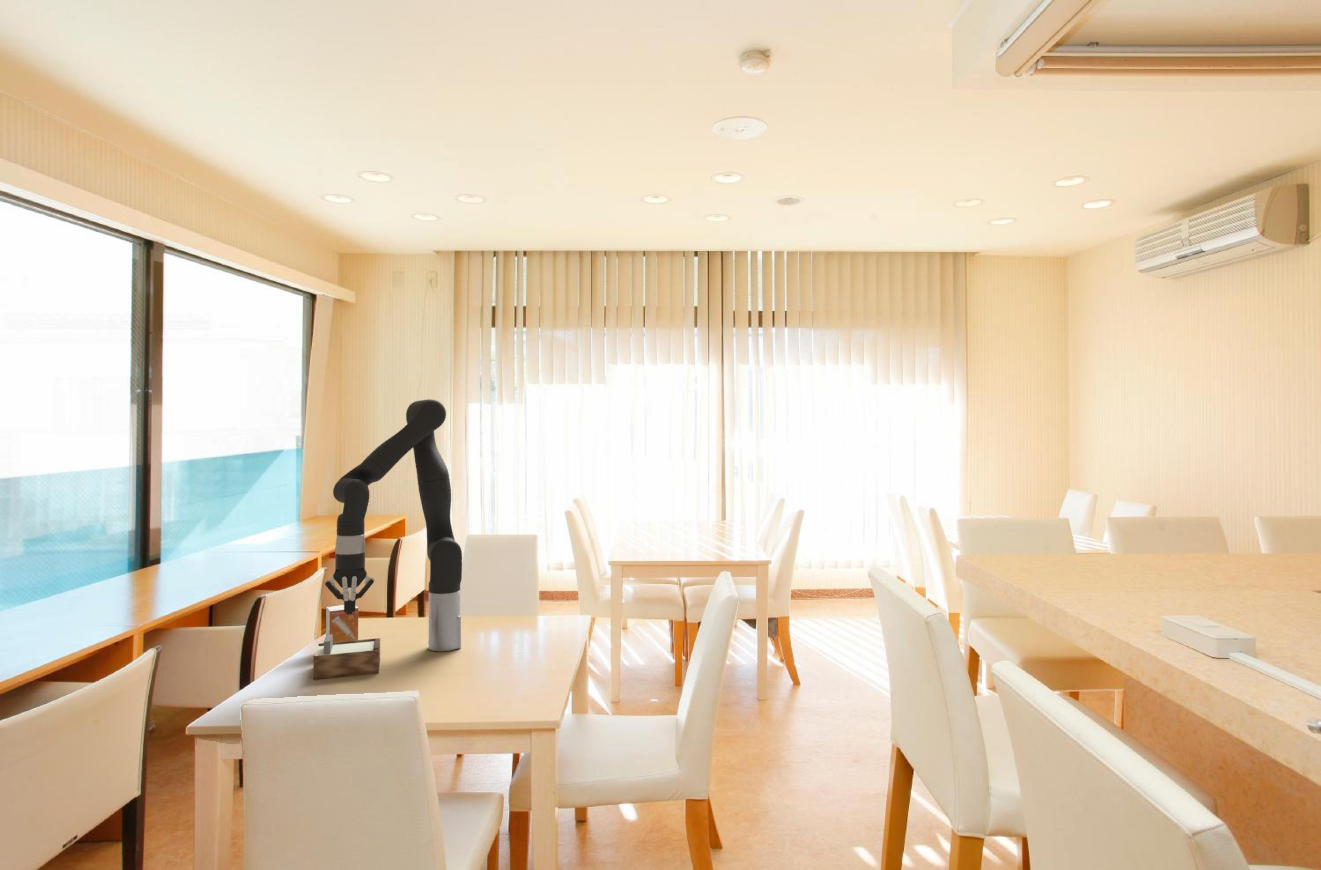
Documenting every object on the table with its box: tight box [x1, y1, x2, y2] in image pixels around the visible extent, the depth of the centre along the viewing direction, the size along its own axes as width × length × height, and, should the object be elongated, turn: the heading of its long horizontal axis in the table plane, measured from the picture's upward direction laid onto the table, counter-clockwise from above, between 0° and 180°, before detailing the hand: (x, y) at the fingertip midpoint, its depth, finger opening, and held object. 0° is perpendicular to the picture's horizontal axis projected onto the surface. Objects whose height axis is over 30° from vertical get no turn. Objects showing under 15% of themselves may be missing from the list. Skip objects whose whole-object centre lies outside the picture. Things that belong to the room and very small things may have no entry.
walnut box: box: [313, 637, 381, 680], centre depth 197 cm, size 16×12×6 cm
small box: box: [325, 604, 359, 642], centre depth 214 cm, size 8×6×13 cm
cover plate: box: [314, 634, 374, 656], centre depth 196 cm, size 14×11×4 cm
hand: (349, 613), depth 197 cm, fingers closed
